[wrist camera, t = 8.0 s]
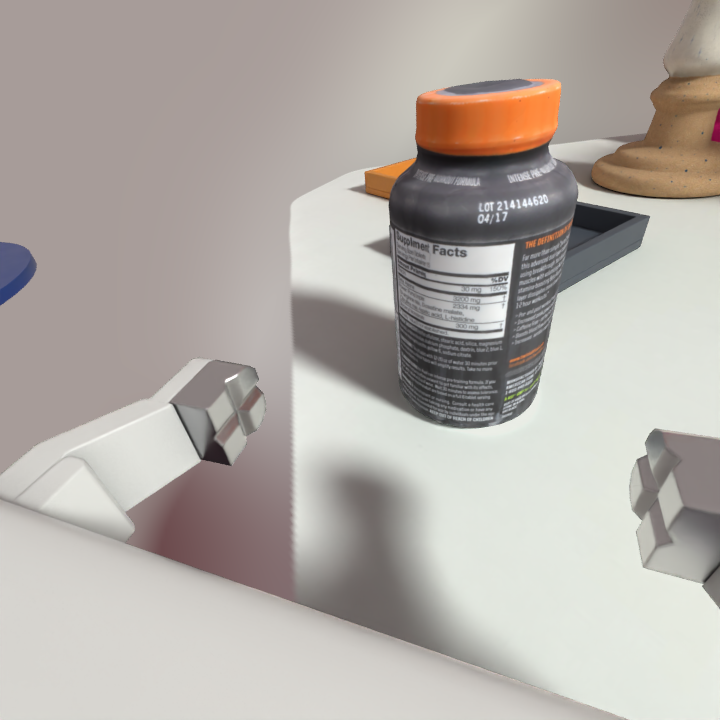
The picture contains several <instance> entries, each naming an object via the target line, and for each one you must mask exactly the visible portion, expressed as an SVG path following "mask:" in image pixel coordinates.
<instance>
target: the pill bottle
mask: <svg viewBox="0 0 720 720" xmlns="http://www.w3.org/2000/svg"><path fill="white" fill-rule="evenodd" d="M560 94H561V83H560V82H559V81H557V80H551V79H526V80H524V79H513V80H499V81H485V82H479V83H472V84H466V85H460V86H454V87H448V88H443V89H439V90H434V91H430V92H426V93H424V94H421V95H420V96H419V97H418V98H417V101H416V122H417V123H416V124H417V125H416V126H417V129H416V135H415V139H416V143H417V150H418V154H417V157H416V160H415V162H414V163H413V164H412V165H411V166H410V167H409V168H407V169H406V170H405V171H404V172H403V173H402V174H401V175H399V177H398V178H397V180H396V181H395V183H394V185H393V186H392V189H391V192H390V197H389V214H390V235H391V254H392V271H393V289H394V304H395V323H396V339H397V354H398V371H399V383H400V388H401V390H402V393H403V395H404V396H405V398H406V399H407V400H408V402H409V403H410V404H411V405H412V406H413V407H414V408H415V409H416V410H418V411H419V412H420V413H422V414H423V415H425V416H427V417H429V418H431V419H433V420H435V421H437V422H440V423H443V424H448V425H452V426H457V427H467V428H481V427H489V426H494V425H499V424H502V423H504V422H507V421H510V420H512V419H514V418H516V417H518V416H519V415H520V414H522V413H523V412H524V411H525V410H526V409H527V408H528V407H529V406H530V405H531V403H532V402H533V400H534V398H535V396H536V394H537V389H538V385H539V382H540V376H541V370H542V367H543V362H544V356H545V352H546V347H547V342H548V337H549V332H550V327H551V322H552V316H553V312H554V307H555V302H556V298H557V293H558V288H559V284H560V281H561V274H562V270H563V264H564V259H565V255H566V250H567V246H568V240H569V235H570V231H571V227H572V221H573V217H574V212H575V207H576V202H577V198H578V186H577V182H576V179H575V177H574V175H573V173H572V171H571V170H570V169H569V168H568V166H567V165H566V164H564V163H563V162H561V161H559V160H557V159H555V158H553V157H552V156H551V155H550V153H549V149H548V145H549V142H550V141H551V139H552V137H553V135H554V133H555V131H556V129H557V126H558V110H559V102H560Z"/></svg>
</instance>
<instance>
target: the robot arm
mask: <svg viewBox="0 0 720 720" xmlns="http://www.w3.org/2000/svg"><path fill="white" fill-rule="evenodd" d="M258 380H259V378H258V375H257V372H256V370H255V368H253V367H251V366H247V365H242V364H236V363H231V362H225V361H220V360H211V359H206V358H201V357H198V358H194V359H191V361H189V362H188V363H187V364H186V365H185V366H184V367H183V368H182V369H181V370H180V371H179V372H178V373H177V374H176V375H174V376H173V377H172V378H171V379H170V380H169V381H168V382H167V383H166V384H165V385H164V386H163V387H162V388H161V389H160V390H158V391H157V392H156V393H155V394H154V395H153V396H152V397H151V398H150V399H141V400H139V401H137V402H134V403H132V404H130V405H127V406H125V407H123V408H120V409H118V410H116V411H113V412H111V413H109V414H106V415H104V416H101V417H100V418H97V419H95V420H92V421H90V422H88V423H85V424H83V425H80V426H78V427H76V428H74V429H71V430H69V431H66V432H64V433H62V434H59V435H57V436H55V437H52V438H50V439H48V440H46V441H43V442H41V443H38V444H36V445H35V446H34V447H33V448H31V449H30V450H29V451H28V452H27V453H25V454H24V455H23V456H22V457H21V458H19V459H18V460H17V461H16V462H15V463H13V464H12V465H11V466H10V467H9V468H7V469H6V470H5V471H4V472H2V473H1V474H0V720H629V719H626V718H623V717H620V716H617V715H615V714H612V713H609V712H606V711H603V710H600V709H597V708H595V707H592V706H589V705H586V704H583V703H580V702H577V701H575V700H572V699H569V698H566V697H563V696H560V695H557V694H555V693H552V692H549V691H546V690H543V689H540V688H537V687H535V686H532V685H529V684H526V683H523V682H520V681H518V680H515V679H512V678H509V677H506V676H503V675H500V674H498V673H495V672H492V671H489V670H486V669H483V668H480V667H478V666H475V665H472V664H469V663H466V662H463V661H460V660H458V659H455V658H452V657H449V656H446V655H443V654H440V653H438V652H435V651H432V650H429V649H426V648H423V647H420V646H418V645H415V644H412V643H409V642H406V641H403V640H400V639H398V638H395V637H392V636H389V635H386V634H383V633H381V632H378V631H375V630H372V629H369V628H366V627H363V626H361V625H358V624H355V623H352V622H349V621H346V620H343V619H341V618H338V617H335V616H332V615H329V614H326V613H323V612H321V611H318V610H315V609H312V608H309V607H306V606H303V605H301V604H298V603H295V602H292V601H289V600H286V599H283V598H281V597H278V596H275V595H272V594H269V593H266V592H263V591H261V590H258V589H255V588H252V587H249V586H246V585H243V584H241V583H238V582H235V581H232V580H229V579H226V578H224V577H221V576H218V575H215V574H212V573H209V572H206V571H203V570H201V569H198V568H195V567H192V566H189V565H186V564H183V563H181V562H178V561H175V560H172V559H169V558H166V557H163V556H160V555H158V554H155V553H152V552H149V551H146V550H143V549H140V548H138V547H135V546H132V545H129V544H126V541H127V540H128V539H129V537H130V536H131V535H132V534H133V532H134V531H135V524H134V523H133V522H132V521H131V519H130V518H129V517H128V515H127V514H126V513H125V512H126V511H128V510H129V509H131V508H132V507H134V506H135V505H137V504H138V503H140V502H141V501H143V500H144V499H146V498H147V497H149V496H150V495H152V494H153V493H155V492H156V491H158V490H159V489H160V488H162V487H164V486H165V485H166V484H168V483H169V482H171V481H172V480H174V479H175V478H177V477H178V476H180V475H181V474H183V473H184V472H186V471H187V470H189V469H190V468H192V467H193V466H195V465H196V464H198V463H199V462H201V460H200V459H202V460H206V461H211V462H216V463H220V464H225V465H230V466H232V464H233V463H234V462H235V460H236V459H237V457H238V456H239V455H240V453H241V452H242V450H243V449H244V447H245V446H246V445H247V442H246V436H247V435H249V434H251V433H253V432H255V431H257V429H258V428H259V426H260V425H261V423H262V421H263V418H264V415H265V411H266V400H265V397H264V394H263V392H261V390H260V389H259V388H258V387H257V386H256V384H257V382H258ZM645 446H646V450H647V454H648V455H645V456H643V457H641V458H639V459H637V460H636V463H635V465H634V467H633V470H632V473H631V479H630V485H629V489H630V501H631V507H632V510H633V511H634V512H635V514H636V515H637V516H638V517H639V518H640V519H641V520H642V522H641V524H640V526H639V527H638V529H637V531H636V534H637V539H638V545H639V550H640V555H641V560H642V565H643V568H646V569H650V570H654V571H657V572H661V573H665V574H668V575H672V576H676V577H680V578H683V579H687V580H691V581H694V582H698V583H702V584H703V586H702V587H703V588H704V589H705V591H706V592H707V593H708V594H709V596H710V597H711V598H712V600H713V601H714V602H715V603H716V605H717V606H718V607H719V609H720V438H717V437H710V436H703V435H696V434H689V433H683V432H676V431H669V430H662V429H656V428H655V429H654V430H653V431H652V432H651V433H650V434H649V436H648V438H647V440H646V442H645Z"/></svg>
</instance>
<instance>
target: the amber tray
mask: <svg viewBox="0 0 720 720" xmlns="http://www.w3.org/2000/svg"><path fill="white" fill-rule="evenodd" d="M415 160H416V158H413V159H409V160H406V161H402V162H398V163H395V164H391V165H388V166H384V167H380V168H377V169H373V170H369V171H366V172H365V184H366V192H367V193H370V194H374V195H377V196H381V197H384V198H388V199H389V197H390V192H391V189H392V186H393V185H394V183H395V181H396V180H397V178H398V177H399V175H401V174H402V173H403V172H404V171H405V170H406V169H407V168H409V167H410V166H411V165H412V164H413V163H414V162H415Z"/></svg>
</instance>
